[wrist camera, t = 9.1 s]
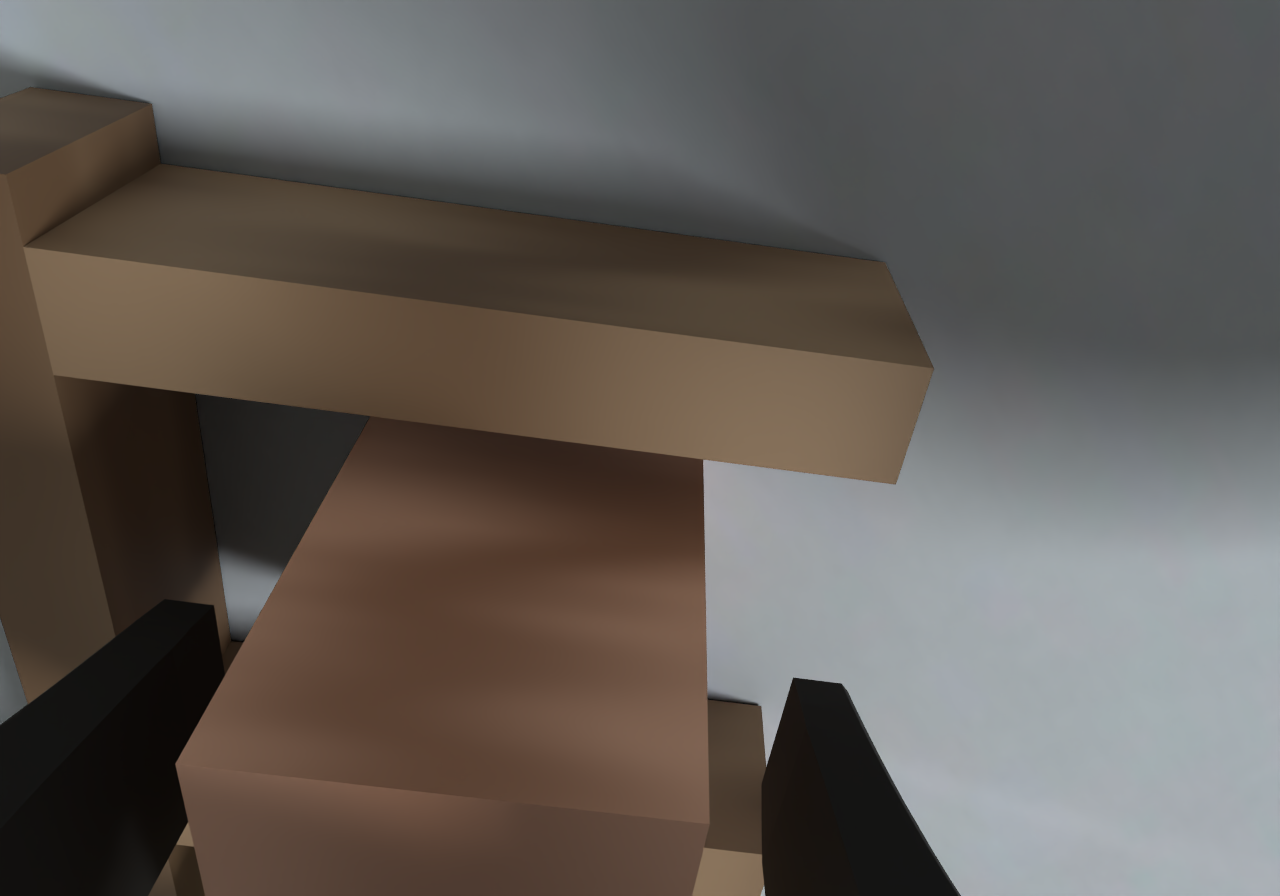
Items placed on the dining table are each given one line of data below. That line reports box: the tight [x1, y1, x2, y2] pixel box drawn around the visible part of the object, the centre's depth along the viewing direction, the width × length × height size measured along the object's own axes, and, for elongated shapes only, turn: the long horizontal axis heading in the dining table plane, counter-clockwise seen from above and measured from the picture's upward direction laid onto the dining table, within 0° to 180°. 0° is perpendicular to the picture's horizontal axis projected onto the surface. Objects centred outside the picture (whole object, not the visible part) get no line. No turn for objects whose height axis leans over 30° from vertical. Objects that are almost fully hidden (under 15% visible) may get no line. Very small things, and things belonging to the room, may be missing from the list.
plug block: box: [175, 416, 710, 896], centre depth 12 cm, size 4×4×7 cm
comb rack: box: [0, 87, 934, 896], centre depth 16 cm, size 11×20×3 cm, turn 173°
